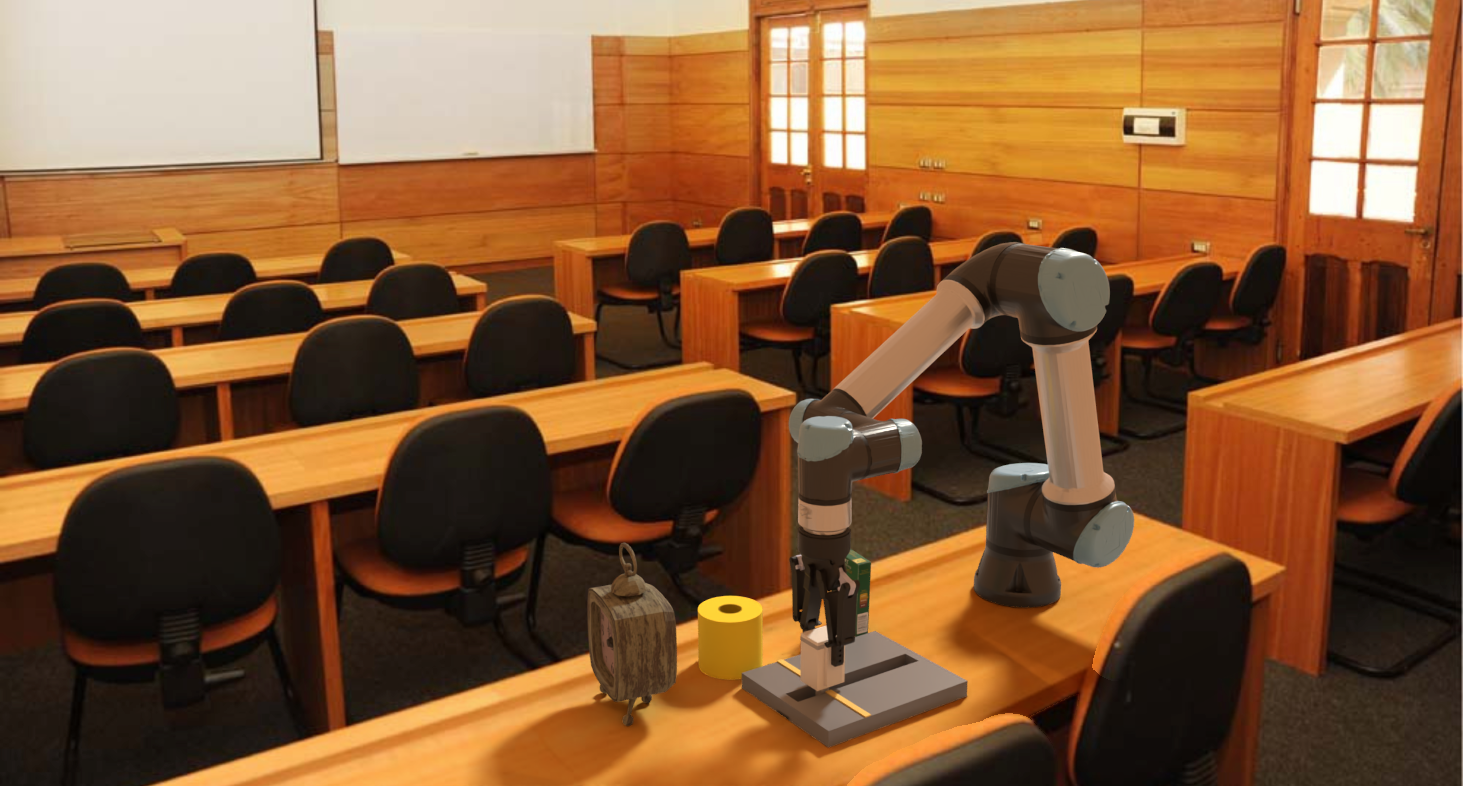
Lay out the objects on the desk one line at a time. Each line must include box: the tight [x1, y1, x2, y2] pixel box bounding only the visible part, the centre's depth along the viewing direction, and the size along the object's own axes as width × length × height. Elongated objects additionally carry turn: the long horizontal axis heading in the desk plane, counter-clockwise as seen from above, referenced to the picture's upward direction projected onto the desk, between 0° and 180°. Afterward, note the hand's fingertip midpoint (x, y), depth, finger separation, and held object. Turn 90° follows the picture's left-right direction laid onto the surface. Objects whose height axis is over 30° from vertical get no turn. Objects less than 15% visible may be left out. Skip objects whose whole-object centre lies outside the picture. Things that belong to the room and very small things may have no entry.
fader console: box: [741, 630, 969, 749], centre depth 188 cm, size 26×21×3 cm
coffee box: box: [832, 548, 872, 637], centre depth 209 cm, size 8×3×13 cm, turn 27°
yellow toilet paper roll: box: [697, 595, 764, 681], centre depth 197 cm, size 10×10×9 cm
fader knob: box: [799, 625, 845, 696], centre depth 184 cm, size 5×4×10 cm
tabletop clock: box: [586, 542, 678, 727], centre depth 182 cm, size 14×9×25 cm, turn 23°
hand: (822, 677), depth 184 cm, fingers closed on fader knob, 4 cm apart
